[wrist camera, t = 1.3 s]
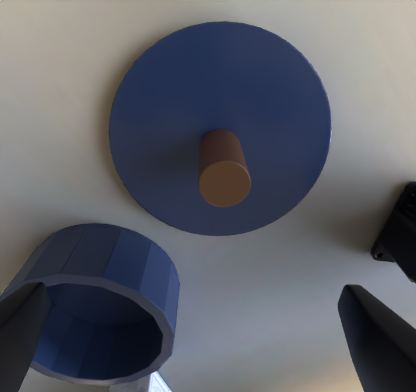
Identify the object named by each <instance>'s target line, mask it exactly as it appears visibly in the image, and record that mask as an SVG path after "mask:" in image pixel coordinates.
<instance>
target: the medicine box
mask: <svg viewBox="0 0 416 392" xmlns="http://www.w3.org/2000/svg"><path fill="white" fill-rule="evenodd" d="M109 392H171V391H170V389H169V388H168V386H167V385H166V383H165V382H164V381H163V379H162V378H161V376H160V375H159V373H158V372H157V371H156V372H154V373H152V374H150V375H147V376H145V377H143V378H141V379H139V380H136V381H134V382H129V383H122V384H115V385H110V388H109Z"/></svg>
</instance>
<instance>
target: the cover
mask: <svg viewBox="0 0 416 392" xmlns="http://www.w3.org/2000/svg"><path fill="white" fill-rule="evenodd" d="M331 129H332V120H331V111H330V105H329V101H328V98H327V94H326V91H325V89H324V86H323V84H322V82H321V79H320V78H319V76H318V74H317V73H316V71H315V70H314V68H313V66H312V65H311V64H310V63H309V61H308V60H307V59H306V58H305V57H304V56H303V54H302V53H300V52H299V51H298V50H297V49H296V48H295V47H294V46H292V45H291V44H290V43H289V42H287V41H285V40H284V39H282V38H281V37H279V36H277V35H276V34H274V33H271V32H269V31H267V30H264V29H262V28H260V27H256V26H252V25H248V24H244V23H236V22H226V21H224V22H207V23H203V24H198V25H193V26H189V27H187V28H184V29H181V30H179V31H176V32H174V33H172V34H170V35H168V36H166V37H164V38H163V39H161V40H159V41H158V42H156V43H155V44H154V45H153V46H151V47H150V48H149V49H147V50H146V51H145V52H144V53H143V54H142V55H141V56H140V57H139V58H138V59H137V60H136V61H135V62H134V64H133V65H132V66H131V68H130V69H129V70H128V72H127V73H126V75H125V76H124V78H123V80H122V82H121V84H120V86H119V88H118V90H117V93H116V95H115V98H114V101H113V104H112V109H111V114H110V121H109V140H110V149H111V153H112V158H113V161H114V164H115V167H116V170H117V172H118V174H119V176H120V178H121V180H122V182H123V184H124V186H125V187H126V188H127V190H128V191H129V193H130V194H131V195H132V197H133V198H134V199H135V200H136V201H137V202H138V203H139V204H140V205H141V206H142V207H143V208H144V209H145V210H146V211H148V212H149V213H150V214H152V215H153V216H154V217H156V218H157V219H159V220H161V221H162V222H164V223H166V224H168V225H170V226H172V227H175V228H177V229H180V230H183V231H186V232H190V233H194V234H200V235H208V236H229V235H235V234H242V233H245V232H249V231H253V230H256V229H258V228H261V227H264V226H266V225H268V224H270V223H272V222H274V221H276V220H277V219H279V218H280V217H282V216H284V215H285V214H286V213H288V212H289V211H290V210H291V209H293V208H294V207H295V206H296V205H297V204H298V203H299V202H300V201H301V200H302V199H303V198H304V197H305V196H306V195H307V193H308V192H309V191H310V190H311V188H312V187H313V185H314V184H315V182H316V180H317V179H318V177H319V175H320V173H321V171H322V169H323V167H324V164H325V162H326V158H327V155H328V152H329V147H330V141H331Z"/></svg>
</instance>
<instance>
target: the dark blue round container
mask: <svg viewBox="0 0 416 392" xmlns="http://www.w3.org/2000/svg"><path fill="white" fill-rule="evenodd" d="M30 281H41V282H43V283H44V284H45V286H46V289H47V292H48V295H49V297H50V301H51V306H50V310H49V313H48V316H47V319H46V322H45V325H44V328H43V331H42V334H41V336H40V339H39V342H38V345H37V348H36V351H35V354H34V357H33V360H32V362H31V364H30V367H31V368H33V369H34V370H36V371H38V372H40V373H42V374H44V375H46V376H49V377H53V378H57V379H60V380H64V381H67V382H71V383H74V384H75V383H76V384H90V385H104V386H105V385H106V386H109V385H115V384H122V383H129V382H134V381H136V380H139V379H141V378H143V377H145V376H147V375H150V374H152V373H154V372H156V371H158V369H159V368H160V367H161V366H162V365H163V364H164V363H165V362H166V361H167V359H168V358H169V357H170V356H171V354H172V350H173V343H174V337H175V328H176V317H177V307H178V297H179V286H180V283H179V278H178V274H177V270H176V268H175V266H174V264H173V262H172V261H171V259H170V258H169V256H168V255H167V254H166V253H165V252H164V251H163V250H162V249H161V248H160V247H159V246H158V245H157V244H155V243H154V242H153V241H151V240H150V239H148V238H147V237H145V236H143V235H141V234H139V233H137V232H134V231H132V230H129V229H126V228H122V227H119V226H114V225H108V224H82V225H75V226H72V227H68V228H65V229H63V230H60V231H58V232H56V233H54V234H53V235H51V236H49V237H48V238H47V239H46V240H45V241H44V242H43V243H42V244H41V245H39V246H38V247H37V248H36V249H35V251H34V252H33V253H32V255H31V256H30V257H29V259H28V260H27V261H26V263H25V264H24V265H23V267H22V268H21V269H20V271H19V272H18V273H17V275H16V276H15V277H14V279H13V280H12V281H11V283H10V284H9V285H8V287H7V288H6V289H5V291H4V292H3V293H2V295H1V296H0V301H1V300H3V299H4V298H6V297H7V296H8V295H10V294H11V293H13V292H14V291H15V290H17V289H18V288H20V287H21V286H22V285H24V284H25V283H27V282H30Z"/></svg>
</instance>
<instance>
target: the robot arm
mask: <svg viewBox="0 0 416 392" xmlns="http://www.w3.org/2000/svg"><path fill="white" fill-rule="evenodd" d="M414 189H416V182H413V183H410V184H409V185H407V187H406V188H405V190H404V191H403V193H402V195H401V197H400V199H399V201H398V202H397V204H396V206H395V208H394V210H393V211H392V213H391V215H390V217H389V219H388V221H387V222H386V224H385V226H384V228H383V230H382V231H381V233H380V235H379V237H378V239H377V241H376V242H375V244H374V246H373V248H372V250H371V252H370V254H371V256H372V257H373V259H374V260H378V261H387V262H396V264H397V265H398V266H399V267H400V269H401V270H402V271H403V272H404V274H405V275H406V276H407V277H408V279H409V280H410V281H411V282H415V283H416V190H415V191H414V192H412V191H413V190H414ZM378 253H379V254H378ZM50 306H51V301H50V297H49V295H48V292H47V289H46V286H45V284H44V283H43V282H41V281H30V282H27V283H25V284H24V285H22V286H21V287H20V288H18V289H17V290H15V291H14V292H13V293H11V294H10V295H8V296H7V297H6V298H4V299H3V300H1V301H0V392H18V391H19V389H20V387H21V384H22V382H23V380H24V378H25V376H26V373H27V371H28V369H29V367H30V364H31V362H32V360H33V357H34V354H35V351H36V348H37V345H38V342H39V339H40V336H41V334H42V331H43V328H44V325H45V322H46V319H47V316H48V313H49V310H50ZM338 312H339V315H340V319H341V322H342V326H343V330H344V333H345V337H346V340H347V344H348V348H349V351H350V355H351V358H352V361H353V364H354V367H355V369H356V372H357V374H358V377H359V380H360V382H361V385H362V387H363V390H364V392H416V329H415V328H413V327H412V326H411V325H410V324H408V323H407V322H406V321H405V320H403V319H402V318H401V317H400V316H398V315H397V314H396V313H395V312H393V311H392V310H391V309H389V308H388V307H387V306H386V305H384V304H383V303H382V302H381V301H379V300H378V299H377V298H376V297H374V296H373V295H372V294H371V293H369V292H368V291H367V290H366V289H364V288H363V287H362V286H360V285H345V286H344V288H343V290H342V293H341V296H340V299H339V301H338Z"/></svg>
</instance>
